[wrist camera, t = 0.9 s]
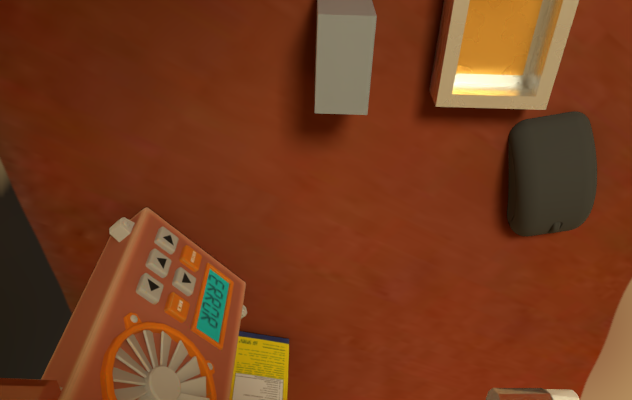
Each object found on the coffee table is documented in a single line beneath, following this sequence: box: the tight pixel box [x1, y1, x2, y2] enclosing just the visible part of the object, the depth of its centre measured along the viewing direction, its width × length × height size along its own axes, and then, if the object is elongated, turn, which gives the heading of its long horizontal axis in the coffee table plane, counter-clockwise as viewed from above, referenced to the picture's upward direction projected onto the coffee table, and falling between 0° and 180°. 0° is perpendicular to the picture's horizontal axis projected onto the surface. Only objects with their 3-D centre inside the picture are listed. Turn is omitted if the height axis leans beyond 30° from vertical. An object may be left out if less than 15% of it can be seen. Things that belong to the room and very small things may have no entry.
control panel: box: [41, 207, 247, 400], centre depth 43 cm, size 21×7×15 cm
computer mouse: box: [507, 112, 597, 236], centre depth 45 cm, size 6×11×4 cm, turn 11°
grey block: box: [315, 0, 377, 115], centre depth 37 cm, size 6×4×6 cm, turn 178°
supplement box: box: [229, 331, 289, 400], centre depth 55 cm, size 6×6×11 cm
